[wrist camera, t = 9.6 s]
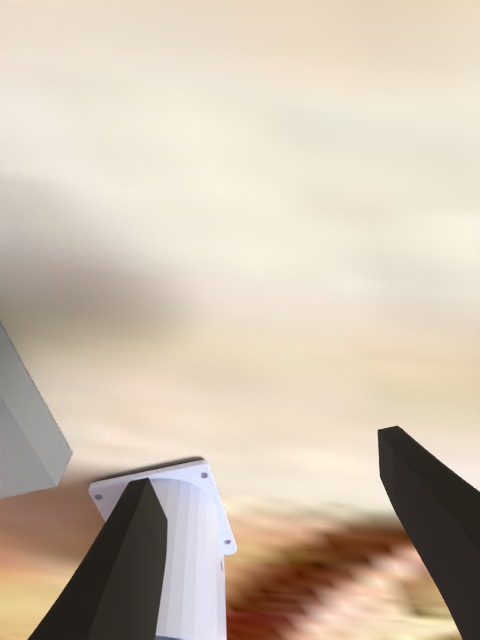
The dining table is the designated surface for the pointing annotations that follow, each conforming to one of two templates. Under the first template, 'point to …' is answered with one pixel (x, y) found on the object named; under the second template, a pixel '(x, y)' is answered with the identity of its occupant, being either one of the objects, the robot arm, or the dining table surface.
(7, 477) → the socket board
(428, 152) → the dining table surface
